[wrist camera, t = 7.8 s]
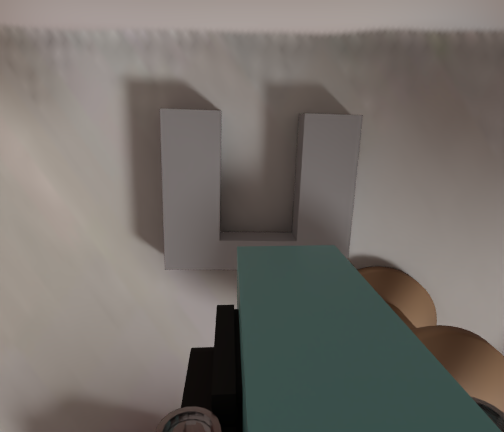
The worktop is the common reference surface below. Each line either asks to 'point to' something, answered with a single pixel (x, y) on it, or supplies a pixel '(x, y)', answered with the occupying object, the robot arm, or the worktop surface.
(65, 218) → the worktop surface
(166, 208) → the notched board
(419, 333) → the door knob
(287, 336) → the teal tab
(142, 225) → the worktop surface
